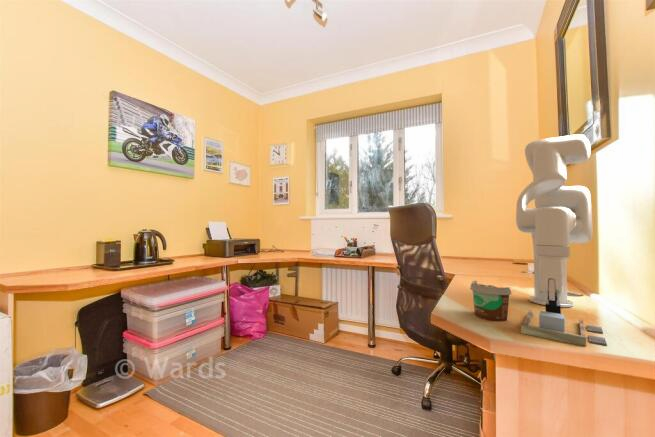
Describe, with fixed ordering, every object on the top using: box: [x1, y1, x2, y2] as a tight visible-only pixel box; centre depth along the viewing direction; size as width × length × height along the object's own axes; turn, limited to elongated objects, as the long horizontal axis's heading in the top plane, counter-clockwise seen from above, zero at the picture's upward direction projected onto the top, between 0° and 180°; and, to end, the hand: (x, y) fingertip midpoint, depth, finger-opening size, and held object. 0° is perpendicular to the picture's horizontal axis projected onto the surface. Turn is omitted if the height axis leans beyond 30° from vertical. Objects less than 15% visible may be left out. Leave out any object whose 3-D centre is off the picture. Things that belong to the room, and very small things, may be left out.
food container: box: [469, 280, 512, 322], centre depth 89 cm, size 12×6×10 cm, turn 23°
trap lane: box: [520, 310, 608, 347], centre depth 78 cm, size 20×16×2 cm
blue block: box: [538, 310, 566, 333], centre depth 75 cm, size 5×5×5 cm
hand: (553, 319), depth 79 cm, fingers closed
